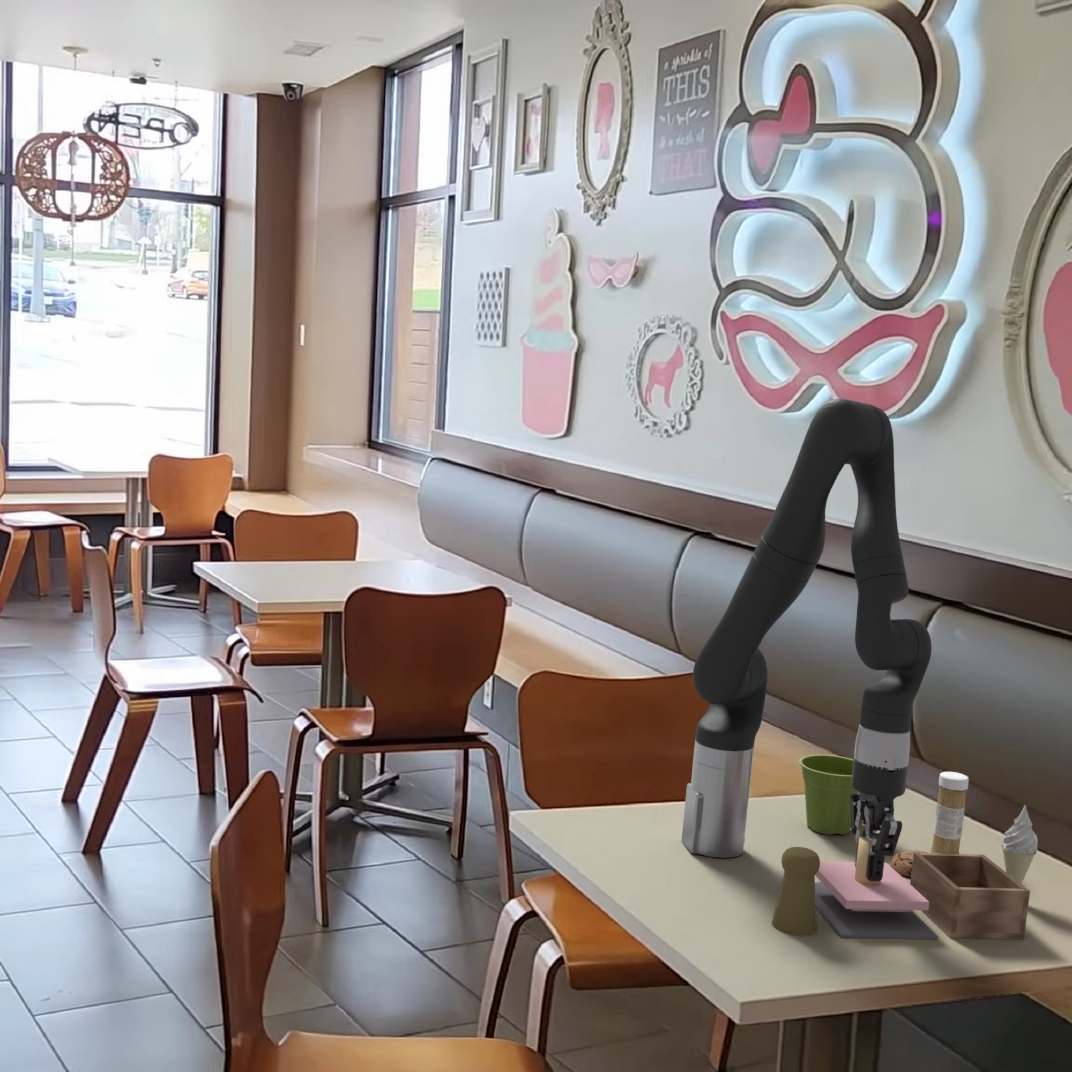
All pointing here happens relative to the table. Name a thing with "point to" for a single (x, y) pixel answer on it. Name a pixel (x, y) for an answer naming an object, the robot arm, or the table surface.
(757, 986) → the table surface
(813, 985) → the table surface
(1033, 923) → the table surface
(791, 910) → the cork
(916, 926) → the mat
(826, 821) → the plant pot
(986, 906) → the box
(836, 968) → the table surface
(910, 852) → the cookie
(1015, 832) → the ice cream cone
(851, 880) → the lid
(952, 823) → the sprinkles bottle
